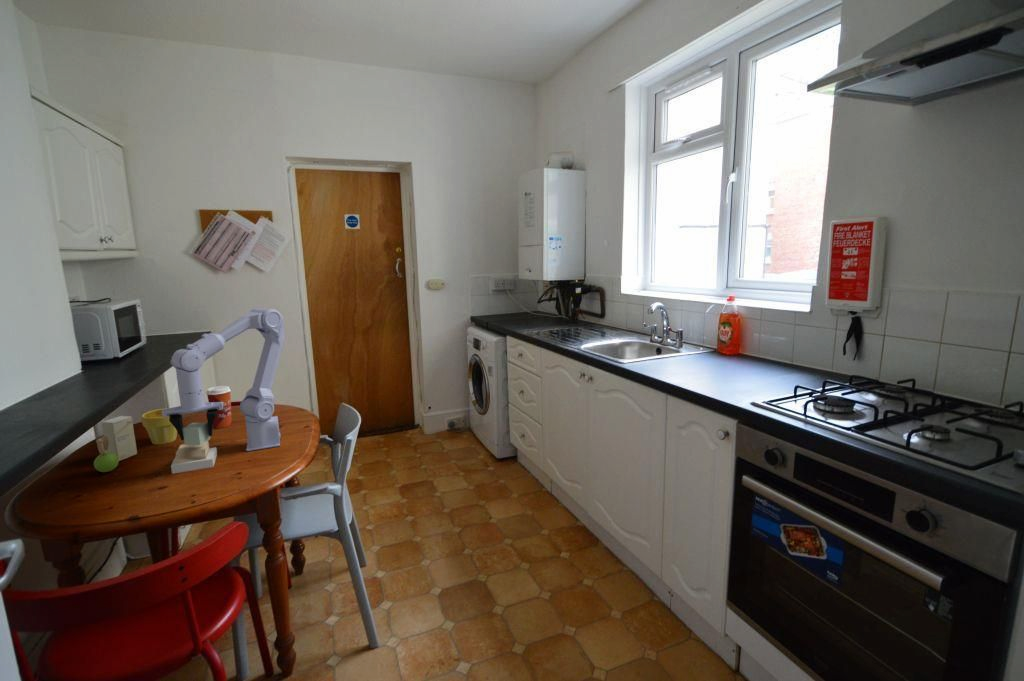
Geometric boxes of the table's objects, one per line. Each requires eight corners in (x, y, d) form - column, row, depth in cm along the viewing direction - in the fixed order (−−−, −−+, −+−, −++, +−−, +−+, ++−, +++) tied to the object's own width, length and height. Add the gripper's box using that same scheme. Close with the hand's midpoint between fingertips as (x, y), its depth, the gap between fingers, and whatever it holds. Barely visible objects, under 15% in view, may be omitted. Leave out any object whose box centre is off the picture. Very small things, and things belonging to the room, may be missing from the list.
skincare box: (118, 461, 145) (112, 423, 143) (106, 460, 146) (99, 422, 144) (138, 453, 151) (132, 416, 149) (126, 452, 152) (120, 415, 150)
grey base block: (217, 456, 150) (216, 447, 150) (213, 468, 141) (212, 459, 141) (178, 462, 146) (177, 452, 146) (172, 475, 137) (170, 465, 137)
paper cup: (227, 429, 171) (222, 391, 169) (205, 429, 172) (200, 391, 169) (239, 421, 179) (235, 384, 177) (218, 422, 179) (214, 385, 177)
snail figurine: (91, 478, 135) (84, 437, 132) (98, 469, 140) (91, 429, 138) (116, 474, 137) (109, 433, 135) (122, 465, 143) (115, 426, 141)
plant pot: (188, 439, 162) (184, 411, 160) (150, 449, 154) (146, 420, 153) (177, 432, 169) (174, 405, 167) (141, 441, 161) (137, 413, 159)
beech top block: (209, 450, 147) (208, 440, 147) (206, 458, 141) (204, 448, 141) (182, 454, 145) (180, 444, 144) (177, 463, 138) (175, 453, 138)
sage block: (210, 438, 143) (208, 422, 142) (200, 444, 138) (198, 428, 137) (195, 438, 143) (192, 422, 142) (184, 444, 138) (182, 428, 137)
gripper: (221, 384, 145) (226, 428, 147) (162, 391, 138) (169, 436, 141) (219, 390, 138) (225, 435, 141) (157, 397, 132) (164, 445, 134)
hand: (197, 436), depth 140 cm, fingers closed on sage block, 6 cm apart
